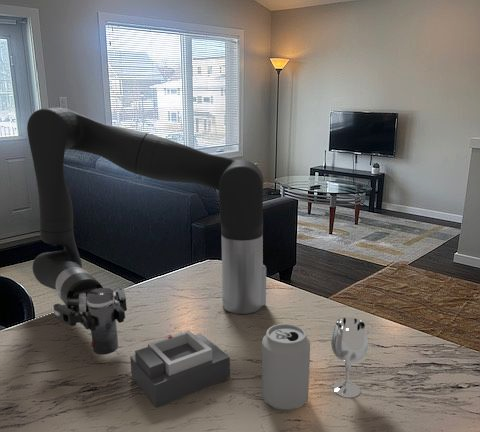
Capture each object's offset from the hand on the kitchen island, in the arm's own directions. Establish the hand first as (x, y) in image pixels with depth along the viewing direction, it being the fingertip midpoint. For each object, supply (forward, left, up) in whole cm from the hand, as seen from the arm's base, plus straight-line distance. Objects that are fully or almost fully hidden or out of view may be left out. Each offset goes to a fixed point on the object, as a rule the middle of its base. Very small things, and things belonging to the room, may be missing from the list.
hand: (107, 321), depth 84 cm
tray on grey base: (-9, +10, -9) cm, 16 cm away
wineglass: (-30, +29, -9) cm, 43 cm away
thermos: (0, -3, -7) cm, 7 cm away
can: (-20, +25, -9) cm, 33 cm away
